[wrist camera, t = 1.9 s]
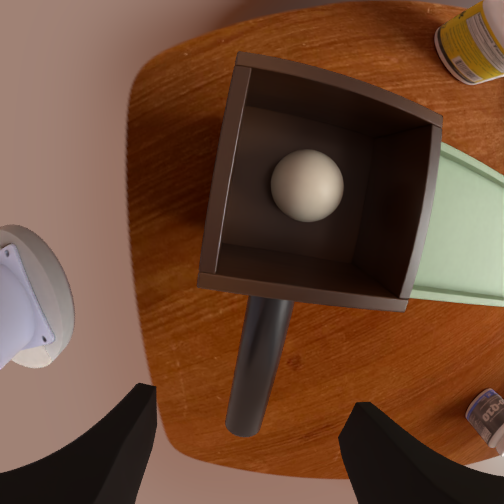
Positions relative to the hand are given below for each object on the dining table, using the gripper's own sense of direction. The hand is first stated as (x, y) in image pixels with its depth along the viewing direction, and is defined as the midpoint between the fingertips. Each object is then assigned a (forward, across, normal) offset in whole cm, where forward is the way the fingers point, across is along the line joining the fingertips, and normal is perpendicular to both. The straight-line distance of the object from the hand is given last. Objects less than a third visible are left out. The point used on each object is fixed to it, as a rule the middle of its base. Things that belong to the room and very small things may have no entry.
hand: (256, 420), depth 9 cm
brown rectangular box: (+5, -1, -5) cm, 7 cm away
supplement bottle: (+9, -13, -22) cm, 27 cm away
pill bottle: (+9, -29, +10) cm, 32 cm away
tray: (+9, -24, -8) cm, 27 cm away
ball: (+4, -1, -8) cm, 9 cm away
